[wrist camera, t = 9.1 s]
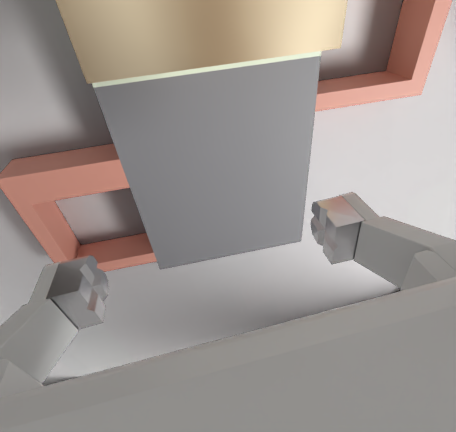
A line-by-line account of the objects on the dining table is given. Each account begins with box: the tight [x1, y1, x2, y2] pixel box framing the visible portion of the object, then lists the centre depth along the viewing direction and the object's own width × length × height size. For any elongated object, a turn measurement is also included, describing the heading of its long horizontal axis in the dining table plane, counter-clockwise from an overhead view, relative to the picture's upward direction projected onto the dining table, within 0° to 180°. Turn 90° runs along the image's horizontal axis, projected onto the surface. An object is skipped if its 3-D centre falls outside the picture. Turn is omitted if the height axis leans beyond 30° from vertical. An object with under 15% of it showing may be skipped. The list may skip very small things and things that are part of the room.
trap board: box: [0, 0, 452, 272], centre depth 17 cm, size 26×21×4 cm
